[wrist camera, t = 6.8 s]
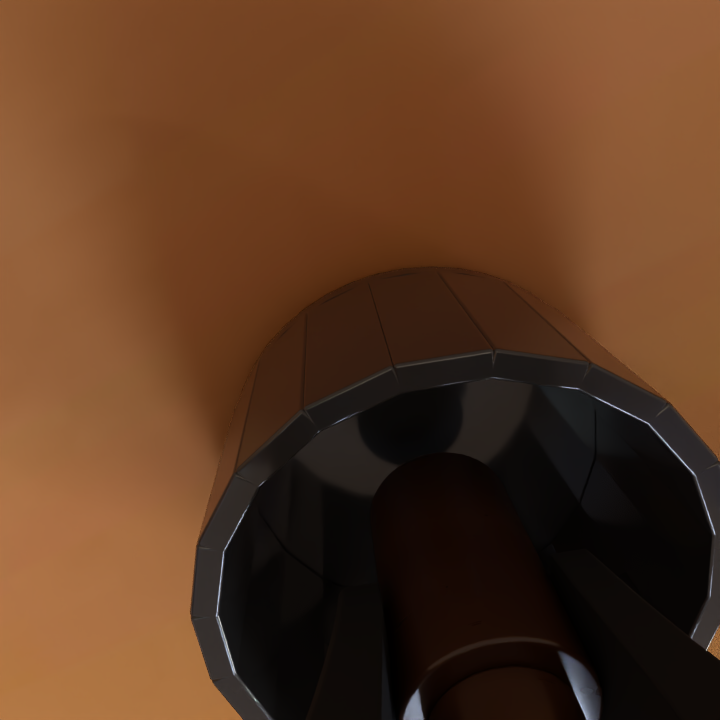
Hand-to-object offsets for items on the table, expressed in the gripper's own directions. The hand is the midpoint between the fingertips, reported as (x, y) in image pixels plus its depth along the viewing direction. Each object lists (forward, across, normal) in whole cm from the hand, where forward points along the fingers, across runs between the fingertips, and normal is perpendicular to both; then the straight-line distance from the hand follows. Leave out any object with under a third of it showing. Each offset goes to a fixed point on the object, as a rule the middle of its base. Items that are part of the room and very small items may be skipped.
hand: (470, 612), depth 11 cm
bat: (+3, 0, 0) cm, 3 cm away
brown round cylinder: (+6, 0, 0) cm, 6 cm away
